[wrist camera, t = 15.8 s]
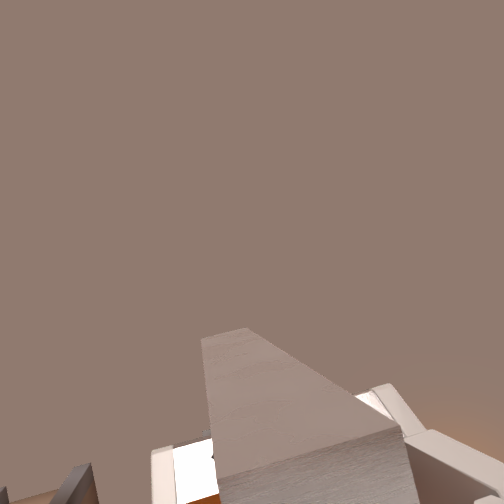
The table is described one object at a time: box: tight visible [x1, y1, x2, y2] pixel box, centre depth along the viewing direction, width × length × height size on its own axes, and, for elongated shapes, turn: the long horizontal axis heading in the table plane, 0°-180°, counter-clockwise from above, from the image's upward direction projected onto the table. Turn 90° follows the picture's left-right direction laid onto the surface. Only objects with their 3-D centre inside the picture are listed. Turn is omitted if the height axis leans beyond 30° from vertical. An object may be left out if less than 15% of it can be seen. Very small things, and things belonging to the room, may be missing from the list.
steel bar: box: [201, 328, 420, 504], centre depth 18 cm, size 22×3×3 cm, turn 7°
